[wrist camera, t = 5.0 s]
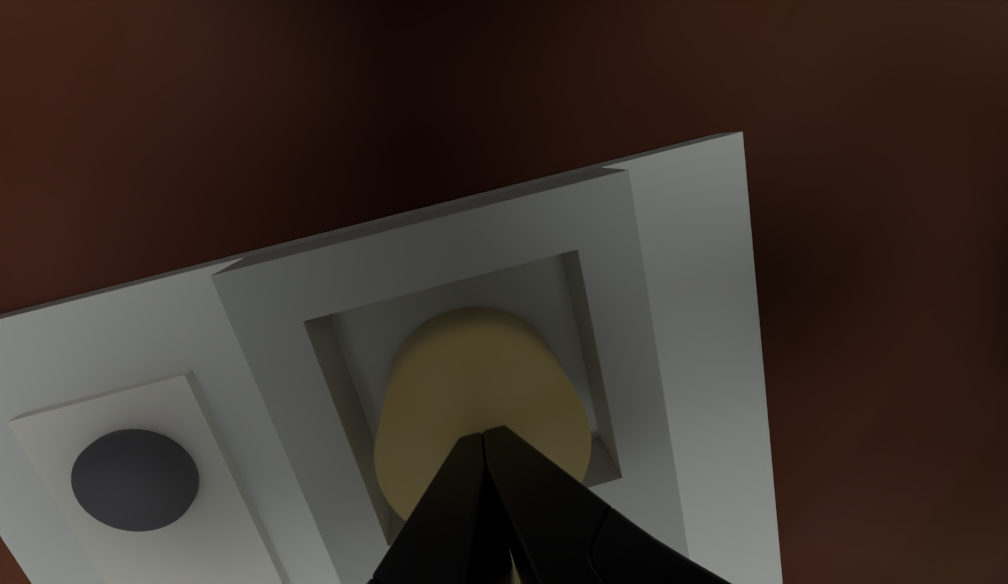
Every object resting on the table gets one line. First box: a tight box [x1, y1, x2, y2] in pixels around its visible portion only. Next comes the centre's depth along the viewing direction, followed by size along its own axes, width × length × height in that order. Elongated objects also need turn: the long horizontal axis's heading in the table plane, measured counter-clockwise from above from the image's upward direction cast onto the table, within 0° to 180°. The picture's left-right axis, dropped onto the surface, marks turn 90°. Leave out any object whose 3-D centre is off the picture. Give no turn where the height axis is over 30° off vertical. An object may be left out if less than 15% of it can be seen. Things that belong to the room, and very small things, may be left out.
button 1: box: [374, 306, 591, 521], centre depth 10 cm, size 4×4×3 cm
